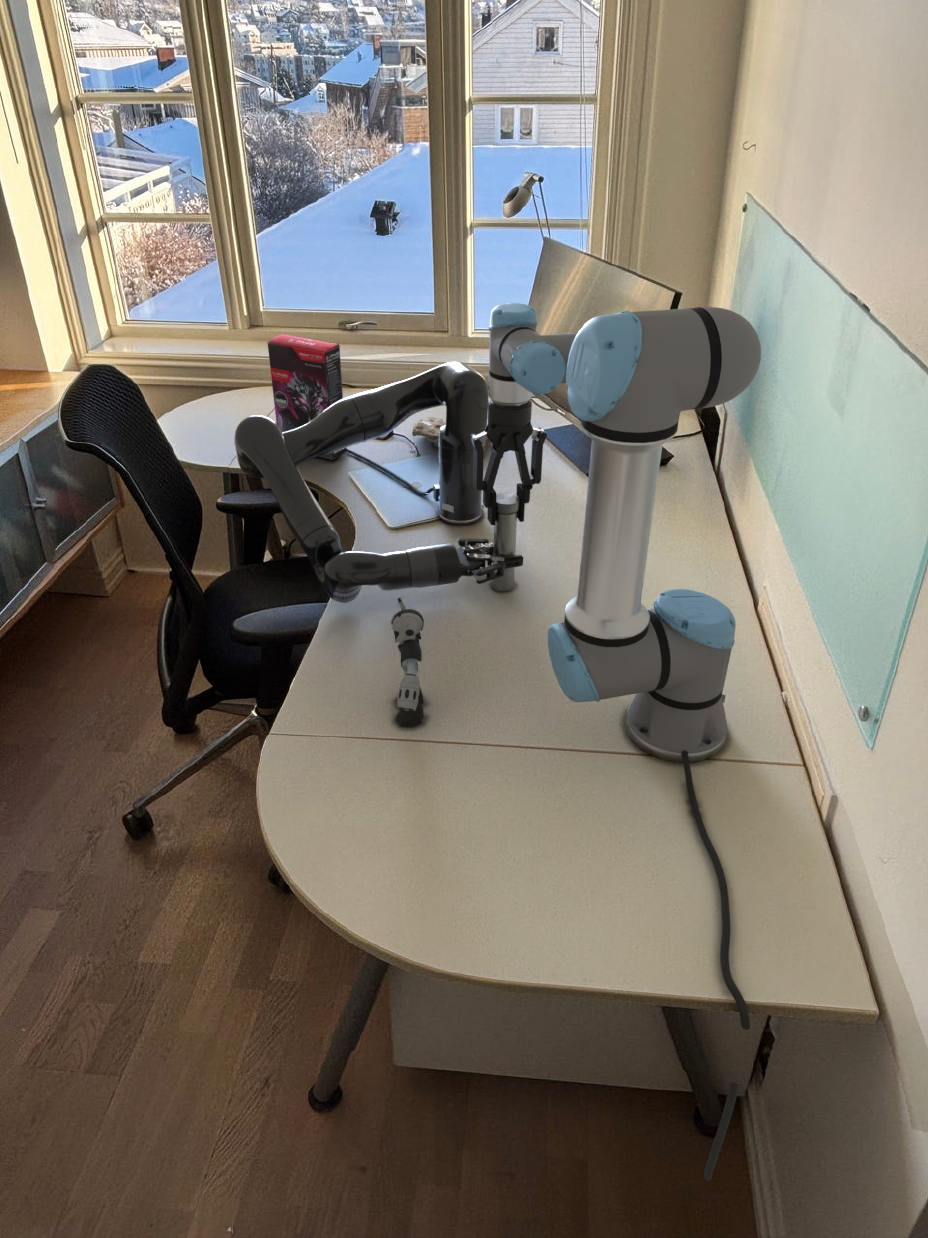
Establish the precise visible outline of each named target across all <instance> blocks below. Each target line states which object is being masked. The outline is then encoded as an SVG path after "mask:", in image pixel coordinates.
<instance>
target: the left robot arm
mask: <svg viewBox="0 0 928 1238" xmlns="http://www.w3.org/2000/svg"><path fill="white" fill-rule="evenodd" d="M488 390H489V385H488V383H487V380H486V379H485V377H484V376H483V375H482V374H480V373H479V372H478V371H477V370H475V369H474V368H473V367H471V366H470V365H468V364H467V363H465V362H461V361H449V362H445V363H443V364H441V365H438V366H436V367H433V368H431V369H429V370H427V371H424V372H422V373H419V374H417V375H415V376H412V377H410V378H407V379H404V380H401V381H397V382H393V383H390V384H387V385H384V386H381V387H377V388H373V389H370V390H366V391H363V392H359V393H356V394H353V395H350V396H346V397H343V399H341V400H339V401H337V402H335V403H334V404H332V405H331V406H329V407H328V408H326V409H325V410H324V411H322V412H321V413H320V414H319V415H317V416H316V417H315V418H314V419H312V420H311V421H309V422H308V423H306V424H305V425H303V426H301V427H298V428H296V429H293V430H290V431H287V432H283V433H282V431H281V429H280V428H279V426H278V425H277V424H276V421H274V420H272V419H271V418H269V417H268V416H266V415H265V416H264V415H258V414H257V415H255V414H254V415H250V416H247V417H245V418H244V419H242V420H241V421H240V422H239V423H238V425H237V426H236V429H235V431H234V439H233V441H234V442H233V443H234V449H235V453H236V459H237V462H238V465H239V468H240V470H241V471H242V472H243V473H244V474H246V475H247V476H249V477H252V478H255V479H256V478H257V479H264V480H265V481H266V483H267V484H268V487H269V488H270V490H271V492H272V493H273V496H274V498H275V500H276V502H277V504H278V507H279V509H280V512H281V513H282V516H283V518H284V520H285V522H286V524H287V526H288V528H289V530H290V531H291V533H292V535H293V537H294V538H295V540H296V541H297V543H298V544H299V547H301V549H302V550H303V552H304V553H305V555H306V557H307V558H308V560H309V563H310V565H311V567H312V569H313V572H314V574H315V577H316V579H317V581H318V582H319V585H320V586H321V588H322V590H323V592H324V593H325V595H327V596H328V597H329V598H330V599H331V600H332V601H335V602H337V603H341V604H346V603H348V604H349V603H350V602H353V601H354V600H356V598H357V597H358V596H359V595H360V593H361V590H362V587H364V586H377V587H378V588H379V589H380V590H381V591H385V592H389V591H390V592H391V591H398V590H405V589H413V588H418V589H419V588H429V587H436V586H442V585H450V584H456V583H458V582H459V580H460V578H461V577H473V578H474V579H475V584H478V585H481V584H485V583H487V582H490V581H493V580H494V579H496V578H499V577H502V576H504V569H506V568H512V567H515V568H518V567H522V566H523V565H524V556H523V555H522V554H520V553H519V554H515V555H511V556H504V557H493V547H494V542H490V539H489V538H476V537H475V538H472V537H471V538H468V537H459V538H458V539H457V547H456V546H455V544H453V543H452V542H446V543H438V544H431V545H423V546H417V547H413V548H409V549H405V550H404V549H403V550H397V551H389V552H384V553H380V552H372V551H359V550H358V551H357V550H348V551H344V550H343V548H342V544H341V540H340V535H339V534H338V531H337V530H336V529H335V526H334V525H333V524H332V522H331V521H330V519H329V518H328V516H327V515H326V513H325V511H324V510H323V508H322V507H321V506H320V504H319V502H318V500H317V499H316V497H315V495H314V494H313V493H312V491H311V490H310V488H309V486H308V484H307V483H306V481H305V480H304V478H303V476H302V474H301V472H300V471H299V469H298V467H297V466H299V465H301V464H303V463H306V462H309V461H311V460H313V459H316V458H320V457H319V456H322V455H325V454H328V453H331V452H334V451H337V450H340V449H343V448H346V447H347V452H346V453H347V454H350V455H352V456H355V457H357V458H359V459H361V460H363V461H364V462H367V463H368V464H370V465H372V466H374V467H376V468H378V469H379V470H381V471H382V472H384V473H386V474H387V475H390V476H391V477H393V478H394V479H396V480H397V481H399V482H401V483H402V484H403V485H405V486H406V487H408V488H409V489H410V490H411V491H412V492H414V493H415V494H417V495H418V496H422V497H423V496H428V495H429V494H431V492H432V493H433V496H432V497H433V499H434V502H437V503H438V517H439V519H440V520H441V521H443V522H445V523H447V524H451V525H456V526H457V525H458V526H463V525H471V524H474V523H476V522H478V521H480V519H481V518H482V516H483V510H482V503H483V491H482V490H480V491H478V490H477V489H476V487H475V486H474V484H473V444H472V441H471V439H470V437H471V435H472V434H476V435H479V434H481V433H483V432H485V428H486V427H487V424H488V400H489V396H488ZM437 407H445V422H446V424H445V425H443V426H442V427H441V428H440V430H439V447H438V484H433V485H432V486H433V487H430V488H429V489H427V490H426V491H425V492H423V491H420V490H418V489H416V487H414V486H413V485H412V484H411V483H409V482H408V481H407V480H405V479H404V478H402V477H400V476H399V475H397V474H396V473H394V472H393V471H391V470H389V469H388V468H386V467H384V466H382V465H381V464H379V463H376V462H375V461H374V460H371V459H369V458H367V457H365V456H364V455H362V454H359V453H358V452H355V451H353V450H352V449H349V447H352V446H356V445H359V444H363V443H366V442H368V441H372V440H376V439H378V438H380V437H383V436H385V435H388V434H389V433H391V432H393V431H394V430H395V429H397V428H398V427H399V426H400V425H401V424H403V423H404V422H405V421H406V420H407V419H409V418H410V417H411V416H413V415H415V414H417V413H420V412H423V411H425V410H428V409H432V408H437ZM425 493H429V494H425ZM486 562H487V563H486ZM493 562H498V563H496V564H493ZM486 565H487V566H486ZM494 571H497V572H496V573H494Z"/></svg>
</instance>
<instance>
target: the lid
mask: <svg viewBox="0 0 928 1238" xmlns="http://www.w3.org/2000/svg"><path fill="white" fill-rule="evenodd" d="M516 494H517V493H513V492H499V493H496V511H497V512H499V513H505V514H509V513H514V512H516V511H518V510H519V504H520V498H519V497H518V495H516Z"/></svg>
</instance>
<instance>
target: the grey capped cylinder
mask: <svg viewBox="0 0 928 1238" xmlns="http://www.w3.org/2000/svg"><path fill="white" fill-rule="evenodd" d="M517 523H518V518H517V511H516V512H514V513H509V514H505V513H499V512H497V511H496V522H495V525H493V543H494V547H493V557H504V556H511V555H516V549H517V548H516V547H517V546H516V545H517V526H518V525H517ZM496 563H498V562H493V563H492V565H493V564H496ZM515 568H516V567H512V568H506V569H504V576H502V577H499V578H496V579H494V580H491V581H492V584H491V585H492V586H491V587H492V588H493V589H494V590H495V591H498V592H509V591H512V590H513V589H514V587H515ZM496 572H497V571H494V573H496Z"/></svg>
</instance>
